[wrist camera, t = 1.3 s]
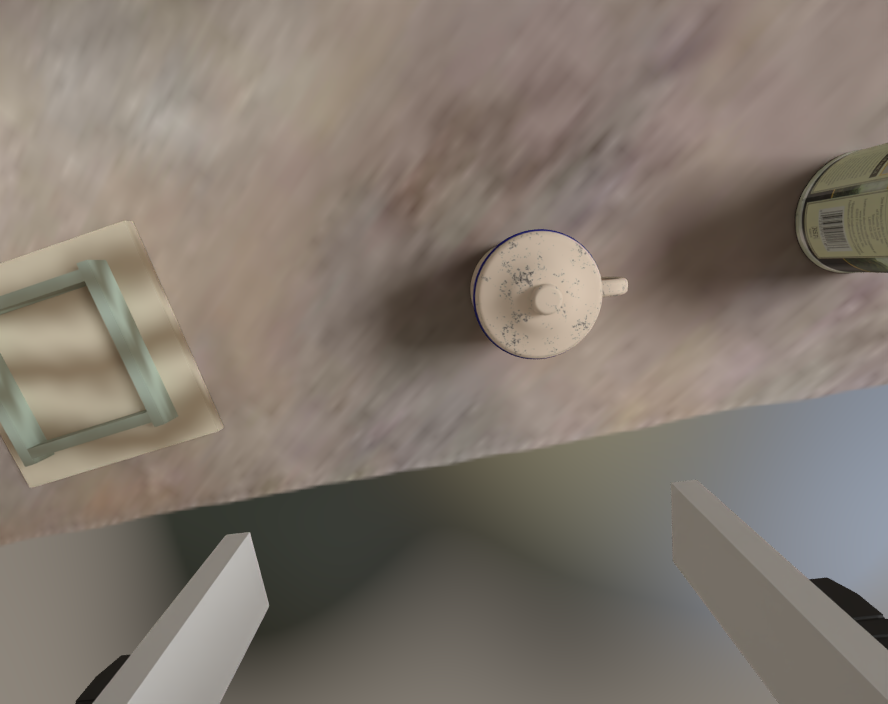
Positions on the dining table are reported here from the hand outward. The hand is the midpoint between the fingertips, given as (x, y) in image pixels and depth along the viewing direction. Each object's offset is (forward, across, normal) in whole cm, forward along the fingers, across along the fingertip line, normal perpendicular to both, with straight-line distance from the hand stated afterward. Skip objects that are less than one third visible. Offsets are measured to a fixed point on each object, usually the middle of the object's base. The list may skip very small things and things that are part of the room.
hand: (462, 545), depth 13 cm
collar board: (+27, -34, +4) cm, 44 cm away
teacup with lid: (+27, +8, +5) cm, 29 cm away
